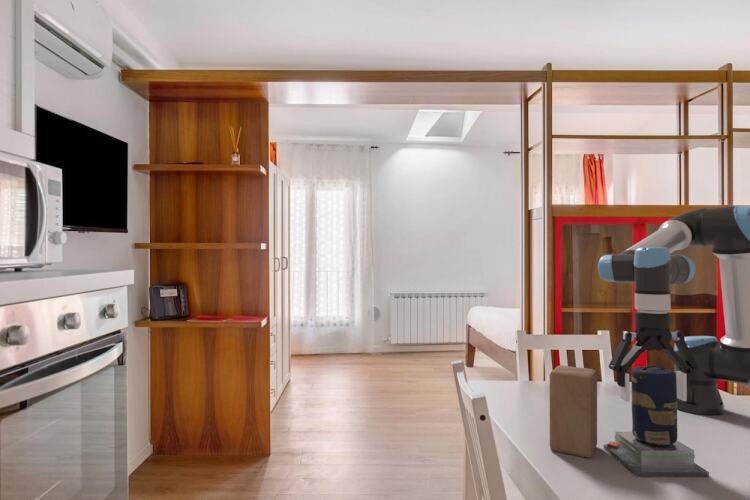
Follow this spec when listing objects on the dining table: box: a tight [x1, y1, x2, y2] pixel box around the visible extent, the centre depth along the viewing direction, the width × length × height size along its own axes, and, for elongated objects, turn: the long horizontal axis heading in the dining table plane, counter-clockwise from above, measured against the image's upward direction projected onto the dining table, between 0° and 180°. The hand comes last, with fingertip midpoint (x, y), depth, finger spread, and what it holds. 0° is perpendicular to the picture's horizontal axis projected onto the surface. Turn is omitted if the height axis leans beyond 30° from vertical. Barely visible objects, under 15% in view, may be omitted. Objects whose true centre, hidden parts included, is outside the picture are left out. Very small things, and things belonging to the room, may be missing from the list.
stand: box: [603, 431, 710, 478], centre depth 118 cm, size 16×17×5 cm
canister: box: [631, 364, 678, 445], centre depth 118 cm, size 10×10×18 cm
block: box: [549, 365, 598, 459], centre depth 125 cm, size 10×10×20 cm
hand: (653, 399), depth 118 cm, fingers open, 13 cm apart
